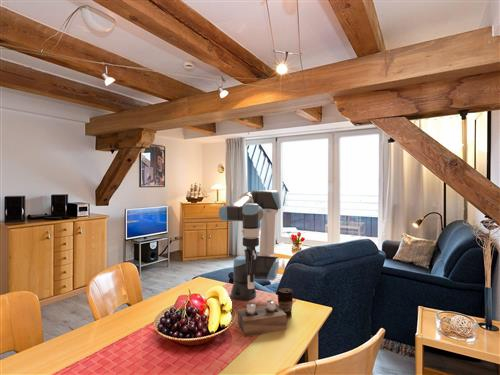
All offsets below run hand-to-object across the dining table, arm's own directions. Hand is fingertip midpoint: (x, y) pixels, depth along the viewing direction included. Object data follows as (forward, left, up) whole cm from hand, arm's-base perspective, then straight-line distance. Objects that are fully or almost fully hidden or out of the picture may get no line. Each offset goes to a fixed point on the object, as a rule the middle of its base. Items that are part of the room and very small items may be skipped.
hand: (251, 288), depth 128 cm
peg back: (0, +10, -14) cm, 17 cm away
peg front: (0, 0, -14) cm, 14 cm away
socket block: (0, +5, -19) cm, 20 cm away
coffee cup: (-7, +20, -19) cm, 29 cm away
